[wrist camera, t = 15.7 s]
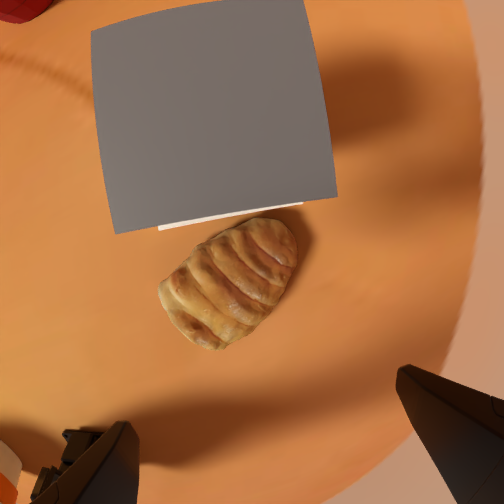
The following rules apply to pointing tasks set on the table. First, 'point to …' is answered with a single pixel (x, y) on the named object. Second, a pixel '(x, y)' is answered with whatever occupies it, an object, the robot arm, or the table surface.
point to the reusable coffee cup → (8, 474)
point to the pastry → (230, 282)
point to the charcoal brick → (210, 112)
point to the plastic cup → (21, 10)
